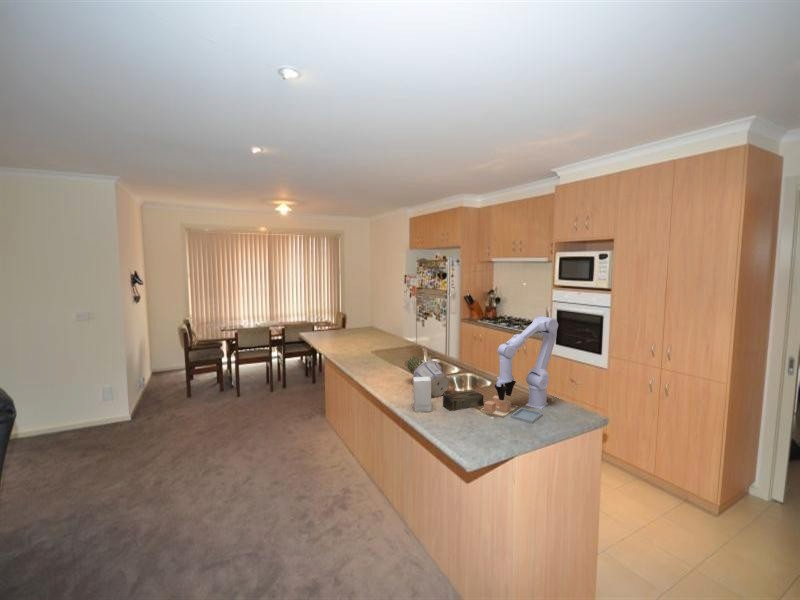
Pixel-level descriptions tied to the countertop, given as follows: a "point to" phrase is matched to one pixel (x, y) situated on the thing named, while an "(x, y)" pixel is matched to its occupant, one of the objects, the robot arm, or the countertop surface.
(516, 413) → the slate dish
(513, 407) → the birch tray
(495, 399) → the chunk
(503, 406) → the chunk
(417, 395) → the skincare box
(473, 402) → the beverage carton
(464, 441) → the countertop surface
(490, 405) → the chunk
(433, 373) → the potted plant
